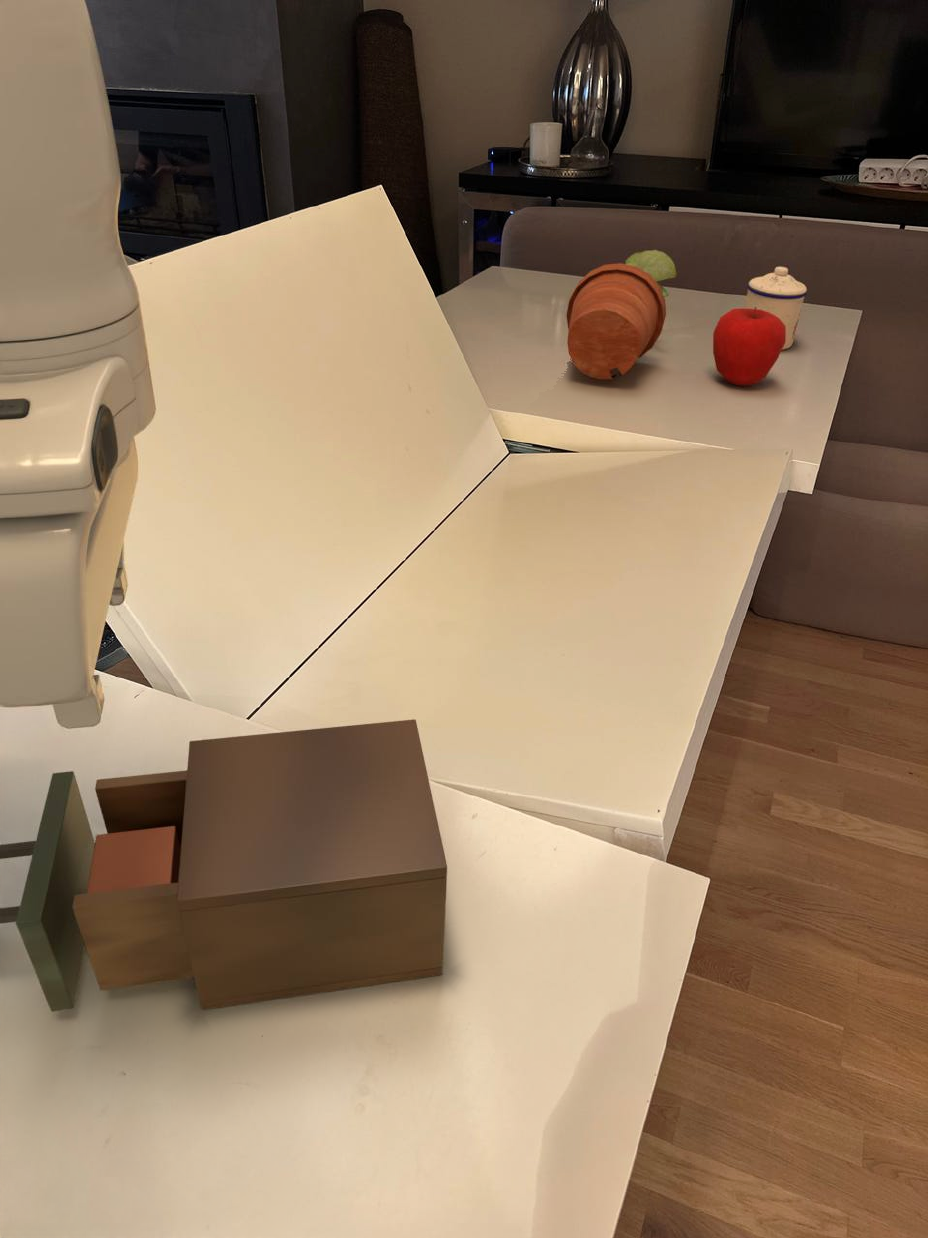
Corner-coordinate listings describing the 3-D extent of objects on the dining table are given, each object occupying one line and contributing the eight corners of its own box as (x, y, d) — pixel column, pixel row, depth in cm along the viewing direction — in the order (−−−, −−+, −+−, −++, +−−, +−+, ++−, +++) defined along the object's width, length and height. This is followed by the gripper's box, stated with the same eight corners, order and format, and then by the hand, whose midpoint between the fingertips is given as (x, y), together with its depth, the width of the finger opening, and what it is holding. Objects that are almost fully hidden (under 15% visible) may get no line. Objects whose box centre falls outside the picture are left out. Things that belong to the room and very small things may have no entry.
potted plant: (651, 406, 128) (677, 314, 154) (661, 299, 118) (687, 219, 144) (542, 397, 132) (585, 308, 158) (544, 292, 122) (589, 216, 148)
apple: (693, 381, 132) (707, 305, 126) (723, 365, 138) (738, 292, 132) (756, 400, 127) (775, 322, 121) (784, 382, 133) (803, 307, 127)
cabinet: (201, 1010, 50) (176, 901, 45) (209, 848, 60) (189, 740, 54) (442, 975, 53) (447, 867, 47) (414, 824, 62) (415, 718, 56)
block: (101, 946, 51) (85, 897, 49) (110, 883, 55) (96, 834, 52) (182, 935, 52) (170, 886, 49) (186, 874, 55) (175, 825, 53)
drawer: (-43, 1026, 48) (-90, 936, 44) (0, 870, 57) (-35, 781, 52) (285, 979, 51) (274, 891, 47) (281, 837, 60) (271, 750, 55)
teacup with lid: (803, 350, 145) (823, 275, 138) (751, 352, 143) (768, 276, 137) (769, 326, 155) (785, 255, 148) (719, 328, 153) (734, 255, 146)
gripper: (7, 300, 44) (64, 546, 52) (-139, 501, 28) (-22, 814, 36) (143, 300, 45) (179, 541, 53) (80, 493, 29) (145, 798, 37)
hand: (97, 653), depth 44 cm, fingers open, 8 cm apart
